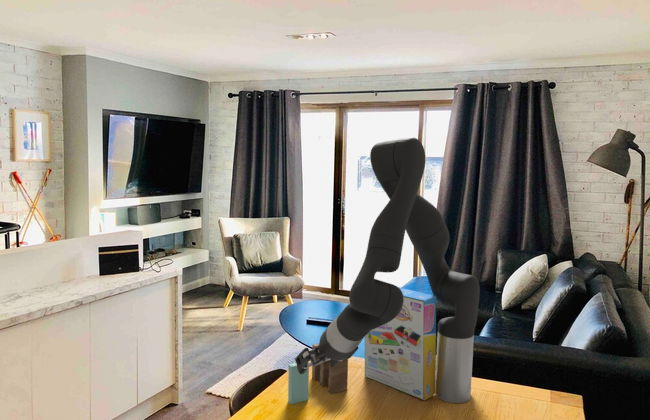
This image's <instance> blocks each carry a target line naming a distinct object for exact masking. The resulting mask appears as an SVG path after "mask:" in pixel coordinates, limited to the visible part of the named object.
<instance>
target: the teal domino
mask: <svg viewBox="0 0 650 420" xmlns="http://www.w3.org/2000/svg"><path fill="white" fill-rule="evenodd" d="M309 363H310V362H308V364H309ZM309 373H310V367H309V368H308V369H307V370H306V372H305V373H304V374H300V373H299V372H298V369H297V364H296V362H293V363H289V364H288V379H287V380H288V387H287V388H288V390H287V391H288V393H287V395H288V396H287V397H288V398H287V399H288V400H287V401H288V403H289V404H290V405H294V404H298V403H301V402H304V401H305V402H306V401H309V388H310V386H309V381H310V380H309V378H310V377H309V376H310V374H309Z"/></svg>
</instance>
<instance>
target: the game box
mask: <svg viewBox="0 0 650 420" xmlns="http://www.w3.org/2000/svg"><path fill="white" fill-rule="evenodd" d="M397 287H398V288H400V290H401V291H402V293H403V297H404V302H403V306H402V309H401V311H400V312H399V314H398V315H397V316H396V317H395V318H394V319H393V320H391V321H390V322H388V323H386V324H384V325H382V326H380V327H378V328H376V329H373V330H370V332H369V333H368V334H367V335H366V336H365V337H364V377H365V378H369V379H371V380H373V381H375V382H378V383H381V384H382V385H385V386H387V387H390V388H393V389H394V390H396V391H400V392H403V393H405V394H408V395H410V396H413V397H415V398H418V399H420V400H422V401H427V400H428V399H429V398H431V397H433V396H434V395H435V380H436V360H437V300H436V296H434V295H433V294H428V293H424V292H421V291H415V290H411V289H410V288H409V289H408V288H404V287H399V286H397Z"/></svg>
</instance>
